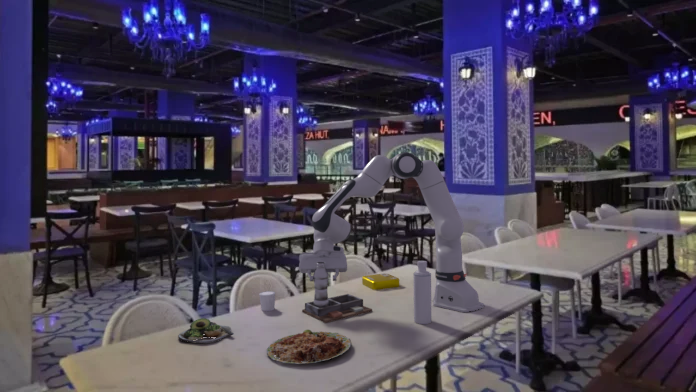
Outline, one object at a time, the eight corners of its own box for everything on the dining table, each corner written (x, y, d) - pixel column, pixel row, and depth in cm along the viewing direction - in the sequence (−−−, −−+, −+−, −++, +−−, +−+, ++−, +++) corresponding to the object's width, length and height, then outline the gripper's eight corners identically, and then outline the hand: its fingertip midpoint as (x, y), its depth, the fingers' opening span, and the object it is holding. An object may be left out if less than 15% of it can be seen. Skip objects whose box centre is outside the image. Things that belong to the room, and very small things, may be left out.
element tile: (360, 284, 244) (360, 275, 244) (386, 280, 250) (386, 271, 250) (374, 291, 230) (373, 281, 230) (401, 287, 236) (400, 277, 236)
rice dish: (250, 364, 150) (249, 348, 150) (291, 331, 176) (290, 317, 175) (331, 377, 140) (331, 359, 140) (362, 340, 166) (362, 325, 165)
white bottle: (410, 320, 186) (410, 256, 184) (425, 317, 188) (425, 255, 187) (419, 325, 180) (418, 259, 178) (434, 322, 182) (434, 258, 180)
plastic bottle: (317, 313, 192) (317, 265, 191) (310, 309, 198) (310, 262, 197) (331, 311, 195) (331, 263, 194) (324, 307, 201) (324, 260, 200)
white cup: (279, 307, 206) (278, 291, 205) (269, 312, 199) (269, 295, 199) (265, 306, 208) (265, 290, 208) (256, 310, 202) (255, 294, 202)
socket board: (372, 311, 197) (372, 302, 197) (325, 323, 184) (325, 313, 184) (347, 301, 212) (346, 292, 212) (302, 311, 199) (302, 302, 199)
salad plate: (246, 331, 178) (245, 319, 178) (216, 348, 162) (215, 335, 161) (204, 325, 185) (203, 313, 185) (171, 341, 169) (170, 329, 169)
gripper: (298, 248, 202) (297, 276, 193) (346, 247, 202) (347, 275, 193) (299, 257, 207) (298, 284, 197) (346, 256, 207) (347, 283, 198)
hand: (323, 280), depth 195 cm, fingers open, 8 cm apart
